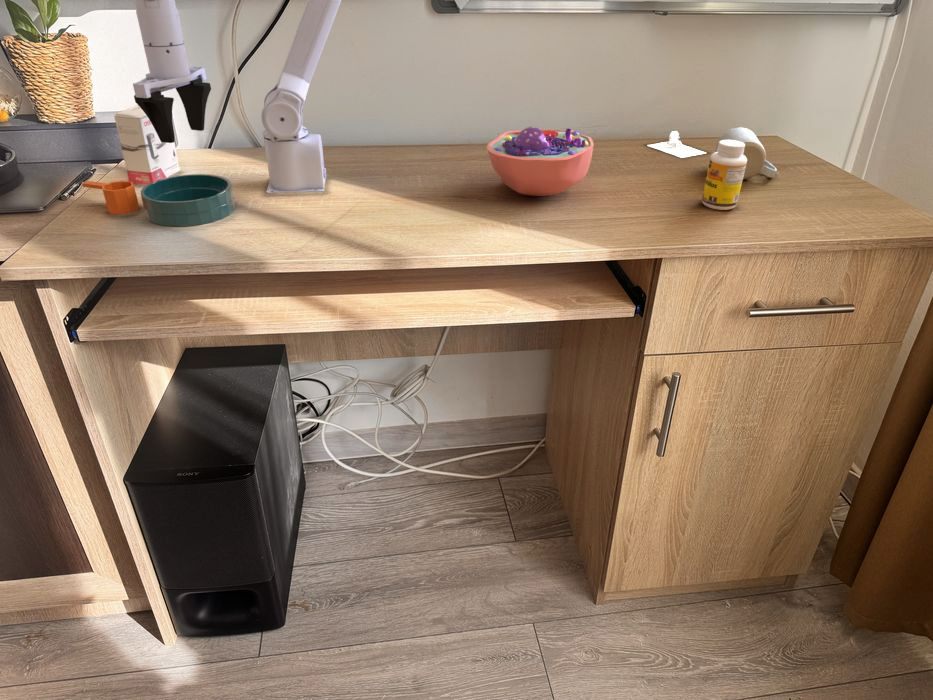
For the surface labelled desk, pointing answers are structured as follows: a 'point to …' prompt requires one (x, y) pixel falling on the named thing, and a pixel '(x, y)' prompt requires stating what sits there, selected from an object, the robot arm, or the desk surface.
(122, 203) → the scoop
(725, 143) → the supplement bottle
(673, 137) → the adhesive hook
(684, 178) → the desk surface
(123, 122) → the ink box
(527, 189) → the cell model
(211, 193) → the bowl
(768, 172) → the ceramic mug
